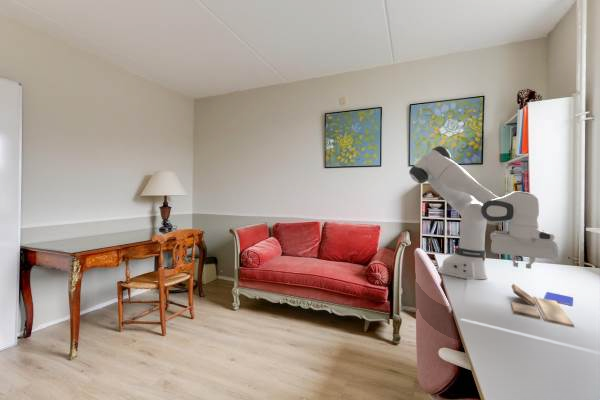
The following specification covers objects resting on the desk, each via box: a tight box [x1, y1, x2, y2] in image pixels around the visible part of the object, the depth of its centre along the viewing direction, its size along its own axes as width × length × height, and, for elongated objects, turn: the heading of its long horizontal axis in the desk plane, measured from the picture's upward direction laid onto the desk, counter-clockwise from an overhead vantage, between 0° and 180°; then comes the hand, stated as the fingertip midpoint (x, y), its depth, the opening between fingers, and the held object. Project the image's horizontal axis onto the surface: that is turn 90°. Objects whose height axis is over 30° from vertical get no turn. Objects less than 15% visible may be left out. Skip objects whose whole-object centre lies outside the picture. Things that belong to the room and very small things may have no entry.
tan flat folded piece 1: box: [510, 301, 541, 320], centre depth 95 cm, size 7×10×1 cm
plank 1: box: [511, 283, 536, 307], centre depth 104 cm, size 7×10×1 cm
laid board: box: [532, 296, 575, 327], centre depth 95 cm, size 7×23×1 cm, turn 146°
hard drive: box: [543, 291, 574, 307], centre depth 107 cm, size 2×8×12 cm
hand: (521, 267), depth 104 cm, fingers open, 2 cm apart
